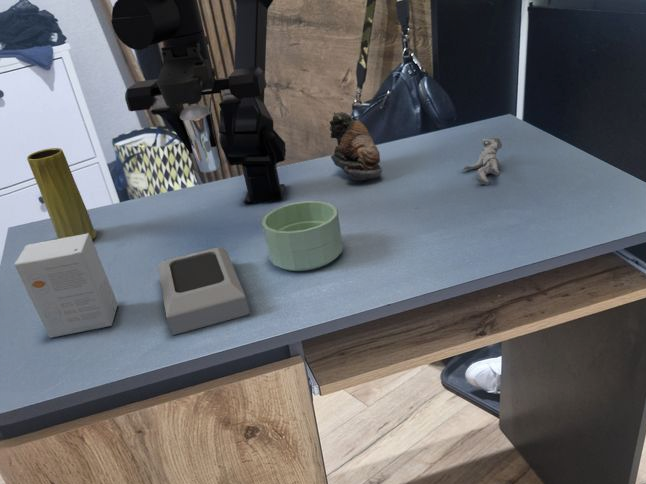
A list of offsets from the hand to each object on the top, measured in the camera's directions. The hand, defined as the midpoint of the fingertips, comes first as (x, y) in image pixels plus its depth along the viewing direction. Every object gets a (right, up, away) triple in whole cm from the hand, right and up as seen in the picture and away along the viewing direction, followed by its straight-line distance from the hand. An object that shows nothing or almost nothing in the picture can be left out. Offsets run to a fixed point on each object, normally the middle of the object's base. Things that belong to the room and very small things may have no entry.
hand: (211, 150), depth 94 cm
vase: (-24, -11, +12) cm, 29 cm away
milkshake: (0, -2, +2) cm, 3 cm away
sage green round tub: (+14, -16, -4) cm, 22 cm away
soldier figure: (+43, 0, +13) cm, 45 cm away
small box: (-14, -26, -11) cm, 31 cm away
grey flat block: (+1, -22, -10) cm, 25 cm away
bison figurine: (+22, +2, +20) cm, 30 cm away
